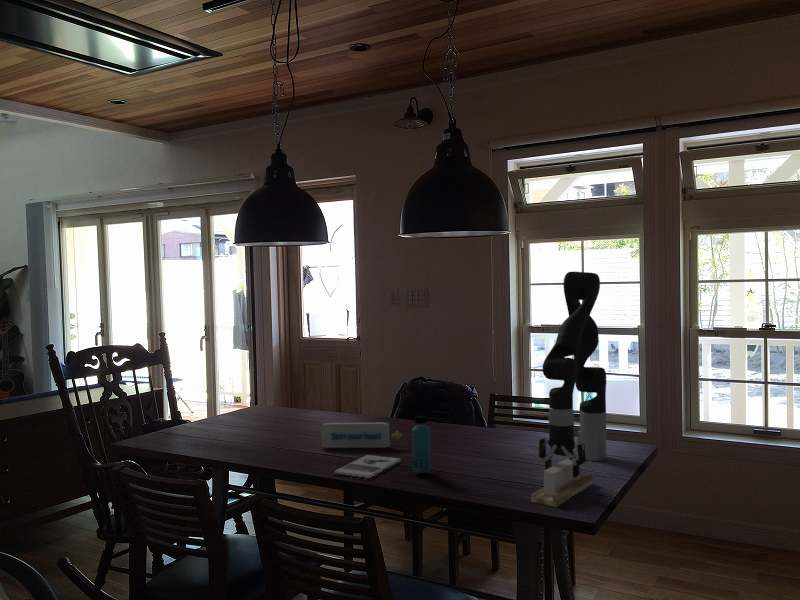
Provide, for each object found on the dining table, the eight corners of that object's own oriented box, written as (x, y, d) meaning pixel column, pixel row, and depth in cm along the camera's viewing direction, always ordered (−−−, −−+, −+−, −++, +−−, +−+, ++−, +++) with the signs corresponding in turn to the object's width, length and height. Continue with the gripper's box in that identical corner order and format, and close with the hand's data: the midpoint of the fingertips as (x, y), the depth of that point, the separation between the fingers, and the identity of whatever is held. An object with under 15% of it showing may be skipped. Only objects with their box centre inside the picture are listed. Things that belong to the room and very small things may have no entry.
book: (369, 481, 215) (369, 475, 215) (334, 476, 221) (334, 471, 221) (400, 463, 235) (400, 458, 235) (367, 459, 242) (367, 454, 242)
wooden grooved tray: (531, 501, 190) (530, 490, 190) (568, 479, 210) (568, 469, 210) (556, 507, 185) (556, 495, 185) (591, 484, 205) (591, 473, 205)
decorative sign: (321, 449, 256) (320, 424, 256) (323, 447, 260) (322, 422, 260) (402, 449, 254) (401, 424, 254) (402, 447, 258) (402, 422, 258)
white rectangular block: (543, 494, 192) (543, 471, 191) (569, 479, 206) (568, 457, 205) (554, 496, 189) (554, 473, 189) (579, 481, 203) (579, 459, 203)
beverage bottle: (431, 471, 223) (430, 413, 222) (431, 477, 216) (430, 417, 216) (412, 471, 223) (411, 414, 223) (412, 477, 216) (411, 418, 216)
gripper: (588, 422, 195) (589, 475, 196) (545, 417, 204) (546, 468, 205) (578, 427, 190) (579, 482, 190) (534, 421, 198) (535, 474, 199)
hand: (562, 474), depth 197 cm, fingers open, 8 cm apart
